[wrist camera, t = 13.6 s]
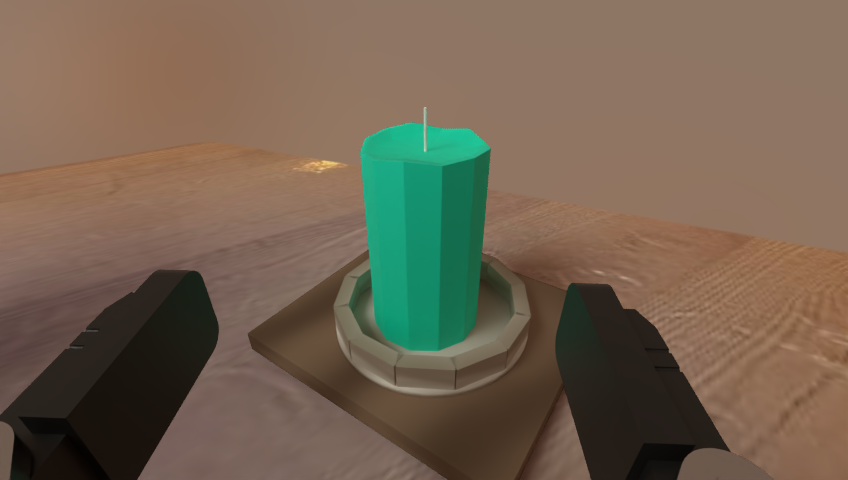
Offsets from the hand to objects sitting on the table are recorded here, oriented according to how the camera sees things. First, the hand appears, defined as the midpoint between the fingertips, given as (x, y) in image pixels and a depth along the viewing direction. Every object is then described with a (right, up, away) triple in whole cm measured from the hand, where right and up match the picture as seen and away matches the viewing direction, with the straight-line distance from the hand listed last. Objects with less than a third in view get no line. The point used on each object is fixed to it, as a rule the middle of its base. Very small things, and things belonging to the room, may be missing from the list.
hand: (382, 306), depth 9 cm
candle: (+1, -3, +16) cm, 16 cm away
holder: (+1, -4, +16) cm, 17 cm away
